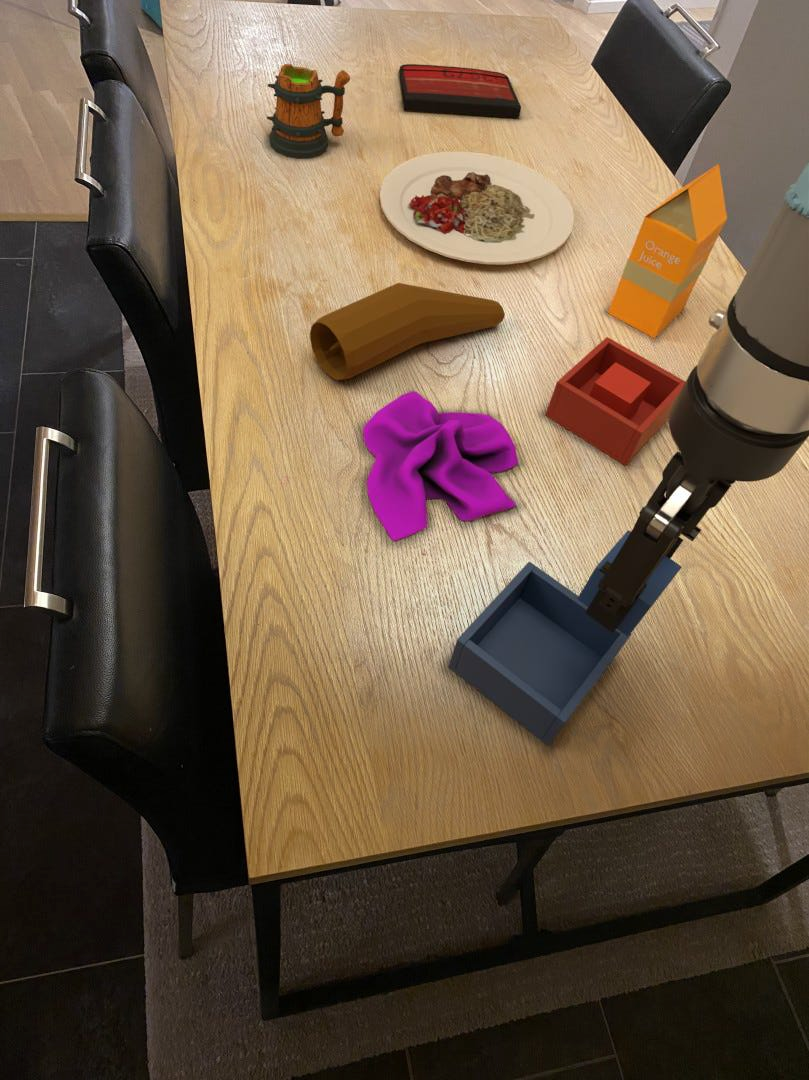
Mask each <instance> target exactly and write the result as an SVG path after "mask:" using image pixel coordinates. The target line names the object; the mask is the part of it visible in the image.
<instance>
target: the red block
mask: <svg viewBox="0 0 809 1080" xmlns="http://www.w3.org/2000/svg"><path fill="white" fill-rule="evenodd" d="M650 384H651V382H649V381H647V380H646V379H644V378H642V377H640V376H639V375H637V374H635V373H633V372H632V371H630V370H628V369H627V368H625V367H623V366H621V365H620V364H618V363H616V362H615V363H614V364H613V365H612V366H611V367H610V368H609V369H608V370H607V371H606V372H605V373H604V374H603V375H602V376H601V377H599V378H598V379H597V380H596V381H595V382H594V385H593V387H592V390H591V392H590V395H589V396H590V397H592V398H594V399H595V400H597V401H599V402H600V403H602V404H604V405H605V406H607V407H609V408H610V409H612V410H613V411H615V412H617V413H618V414H620V415H622V416H623V417H625V418H627V419H628V420H630V419H631V418H632V417H633V416H634V415H635V414H636V413H637V411H638V409H639V407H640V405H641V403H642V401H643V399H644V397H645V394H646V392H647V390H648V388H649V386H650Z"/></svg>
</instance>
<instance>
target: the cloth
mask: <svg viewBox="0 0 809 1080" xmlns="http://www.w3.org/2000/svg"><path fill="white" fill-rule="evenodd" d="M362 434H363V440H364V444H365V447H366V448H367V450H368V451H369V452H370V453H371V454H372V455H373V456H374V457H375V458H374V462H373V465H372V466H371V469H370V472H369V473H368V475H367V478H366V479H367V480H366V489H367V494H368V498H369V499H368V500H369V502H370V505H371V507H372V509H373V512H374V514H375V516H377V518H378V520H379V522H380V524H381V525H382V526H383V528H384V530H385V531H386V533H387V535H388V537H389V538H390V540H391V541H393V542H397V541H400V540H403V539H406V538H407V537H411V536H412V535H414V534H416V533H418V532H421V531H423V530H424V529H425V528H426V527H427V526H428V523H429V521H428V507H427V500H437V499H438V500H439V499H440V500H443V501H445V503H446V505H447V506H448V507H449V508H450V509H451V510H452V512H453V513H454V514H455V516H456V517H457V518H458V519H459V520H461V522H467V521H474V520H477V519H480V518H482V517H484V516H489V515H492V514H496V513H500V512H503V511H507V510H510V509H512V508H515V507H516V506H517V504H516V503H515V501H513V499H511V498H510V496H509V495H508V494H507V492H506V491H505V490H504V488H503V487H502V486H501V484H499V482H498V480H497V479H496V478H495V477H494V475H493V474H496V473H502V472H506V471H507V470H510V469H511V468H513V467H515V466H516V465H518V464H519V459H518V455H517V447H516V445H515V442H514V441H513V438H512V437H511V435H510V433H509V432H508V430H507V429H506V428H505V427H504V425H503V424H502V423H501V422H500V421H498V420H497V419H496V418H493V415H489V414H485V413H474V412H473V413H472V412H454V411H449V412H440V413H439V412H438V409H437V408H436V406H435V405H434V404H433V403H432V402H431V401H430V400H428V399H426V398H425V397H423V396H422V395H421V394H420V393H419V392H418V391H414V390H413V391H409V392H406V393H403V394H401V395H400V396H398V397H397V398H395V399H394V400H392V401H390V402H389V403H387V404H385V405H384V406H383V407H382V408H379V410H378V411H376V412H375V414H373V416H371V418H370V419H369V420H368V421H367V422H366V424H364V425H363V428H362Z"/></svg>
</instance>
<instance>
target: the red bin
mask: <svg viewBox="0 0 809 1080" xmlns="http://www.w3.org/2000/svg"><path fill="white" fill-rule="evenodd" d="M615 362H616V363H618V364H620V365H621V366H623V367H625V368H627V369H628V370H630V371H632V372H633V373H635V374H637V375H639V376H640V377H642V378H644V379H646V380H647V381H649V382H651V384H650V386H649V388H648V390H647V392H646V394H645V397H644V399H643V401H642V403H641V405H640V407H639V409H638V411H637V413H636V414H635V415H634V416H633V417H632V418H631V419H630V420H628V419H627V418H625V417H623V416H622V415H620V414H618V413H617V412H615V411H613V410H612V409H610V408H609V407H607V406H605V405H604V404H602V403H600V402H599V401H597V400H595V399H594V398H592V397H590V396H589V395H590V392H591V390H592V387H593V385H594V382H595V381H596V380H597V379H598V378H599V377H601V376H602V375H603V374H604V373H605V372H606V371H607V370H608V369H609V368H610V367H611V366H612V365H613V364H614V363H615ZM685 382H686V380H683V378H681V377H679V376H677V375H675V374H674V373H671V372H670V371H668V370H666V369H665V368H663V367H661V366H659V365H658V364H655V363H654V362H652V361H651V360H649V359H647V358H645V357H643V356H641V355H640V354H638V353H637V352H634V351H633V350H631V349H630V348H628V347H625V346H624V345H622V344H621V343H619V342H617V341H616V340H614V339H612V338H611V337H608V336H606V337H605V338H604V339H603V340H602V341H601V342H599V343H598V344H597V345H596V346H595V347H593V349H592V350H590V351H589V352H588V353H587V354H586V355H585V356H583V358H581V360H579V361H578V362H577V363H576V364H574V366H573V367H571V368H570V369H569V370H568V371H567V372H566V373H565V374H563V375H562V376H561V378H559V379H558V380H557V381H556V383H555V386H554V390H553V392H552V395H551V398H550V400H549V403H548V407H547V409H546V412H545V415H544V416H545V417H546V418H549V419H550V420H552V421H553V422H555V423H556V424H558V425H559V426H561V427H563V428H564V429H566V430H568V431H569V432H571V433H572V434H574V435H575V436H577V437H579V438H580V439H582V440H583V441H585V442H586V443H588V444H590V445H592V446H593V447H595V448H597V449H598V450H599V451H601V452H602V453H604V454H606V455H607V456H609V457H610V458H612V459H614V460H616V461H617V462H619V463H621V465H623V466H627V465H628V464H629V463H630V462H631V461H632V460H633V459H634V458H635V456H637V455H638V453H639V452H640V451H641V450H642V449H643V448H644V447H645V446H646V445H647V443H648V442H649V441H650V440H651V439H652V438H653V437H654V436H655V435H656V434H657V432H658V431H659V430H660V429H661V428H662V427H663V426H664V425H665V423H667V421H669V413H670V410H671V407H672V405H673V404H674V402H675V400H676V398H677V396H678V395H679V393H680V391H681V389H682V387H683V386H684V384H685Z"/></svg>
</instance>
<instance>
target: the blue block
mask: <svg viewBox="0 0 809 1080" xmlns="http://www.w3.org/2000/svg"><path fill="white" fill-rule="evenodd" d="M631 531H632V530H626V532H625V533H624V534H623V535H622V536H621V537H620V538H619V540H618V541H617V542H616V543H615V544H614V546H613V547H611V549H610V550H609V551H608V552H607V553H606V555H604V557H603V558H602V559H601V561H600V562H599V563H598V564H597V565H596V566H595V568H594V570H593V571H592V573H591V575H590V576H589V578H588V580H586V583H585V584H584V586H583V588H582V590H581V592H580V593H579V594H578V598H577V599H578V600H579V601H580V602H582V603H583V604H584V605H586V606H587V607H589V605H590V604H591V602H592V600H593V599H594V597H595V596H596V594H597V592H598V591H599V588H598V584H599V581H600V579H601V578H602V577H604V576H605V575H604V574H603V573H601V572H600V571H599V569H600V568H601V567H602V566H603V564H604V563H605V562H606V561H609V562H610V563H611V564H612V562H613V561H614V559H615V557H616V556H617V554H618V552H619V551H620V549H621V548H622V546H623V544H624V543H625V541H626V539H627V538H628V536H629V534H630V533H631ZM681 569H682V565H680V564H679V563H677V562H676V561H675V560H673V559H672V558H668V557H667V556H665V557H664V559H663V560H662V561H661V563H660V564H659V566H658V567H657V568H656V570H655V571H654V572H653V574H652V575H651V577H650V578H649V579H648V581H647V582H646V584H647V586H646V588H645V589H644V591H643V592H642V594H641V595H640V596H639V598H638V599H637V601H636V602H635V603H634V605H633V606H632V608H631V609H630V611H629V612H628V613H627V615H626V616H625V618H624V619H623V621H622V622H621V623H620V625H619V626H618V628H617V629H618V630H620V631H621V632H622V633H624V634H625V635H626V636H629V635H630V634H631V633H632V632H633V631H634V630H635V629H636V627H637V626H638V625H639V624H640V622H641V621H642V620H643V618H644V617H645V616H646V615H647V613H648V612H649V611H650V609H651V608H652V607H653V606H654V604H655V603H656V601H658V599H659V598H660V597H661V596H662V594H663V593H664V591H665V590H666V589H667V588H668V586H669V585H670V584H671V582H672V581H673V580H674V579H675V577H676V576H677V574H678V573H679V572H680V570H681Z"/></svg>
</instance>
